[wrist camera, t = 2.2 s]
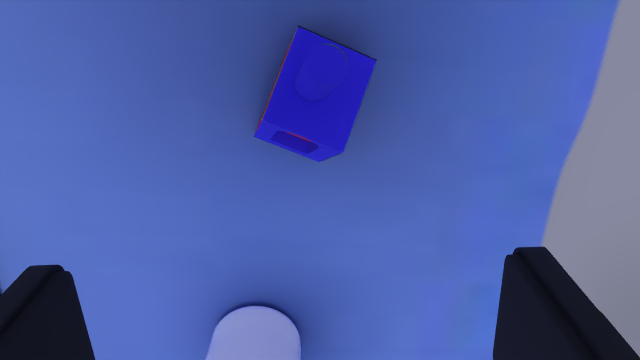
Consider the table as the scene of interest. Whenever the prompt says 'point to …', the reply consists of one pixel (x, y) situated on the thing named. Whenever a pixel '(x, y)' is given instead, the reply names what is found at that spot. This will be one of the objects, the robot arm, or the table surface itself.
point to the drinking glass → (255, 336)
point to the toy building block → (315, 96)
